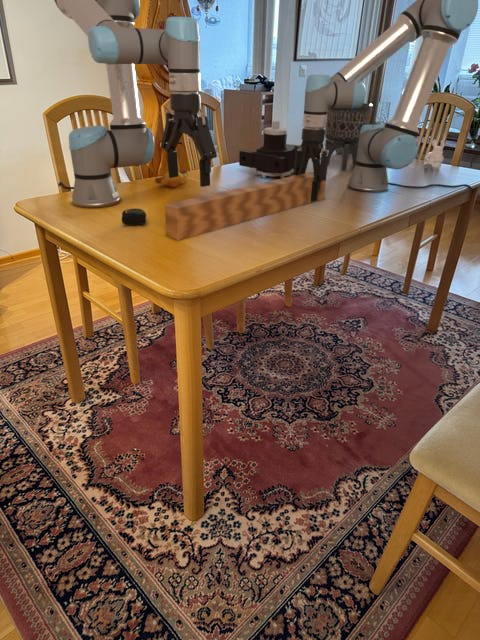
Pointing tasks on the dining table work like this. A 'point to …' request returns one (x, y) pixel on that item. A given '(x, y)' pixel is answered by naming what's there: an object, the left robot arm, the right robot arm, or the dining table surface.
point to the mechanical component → (271, 154)
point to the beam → (238, 205)
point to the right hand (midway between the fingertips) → (307, 198)
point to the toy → (173, 179)
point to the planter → (345, 130)
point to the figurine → (434, 156)
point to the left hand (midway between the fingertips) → (188, 181)
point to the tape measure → (133, 216)
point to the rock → (341, 151)
